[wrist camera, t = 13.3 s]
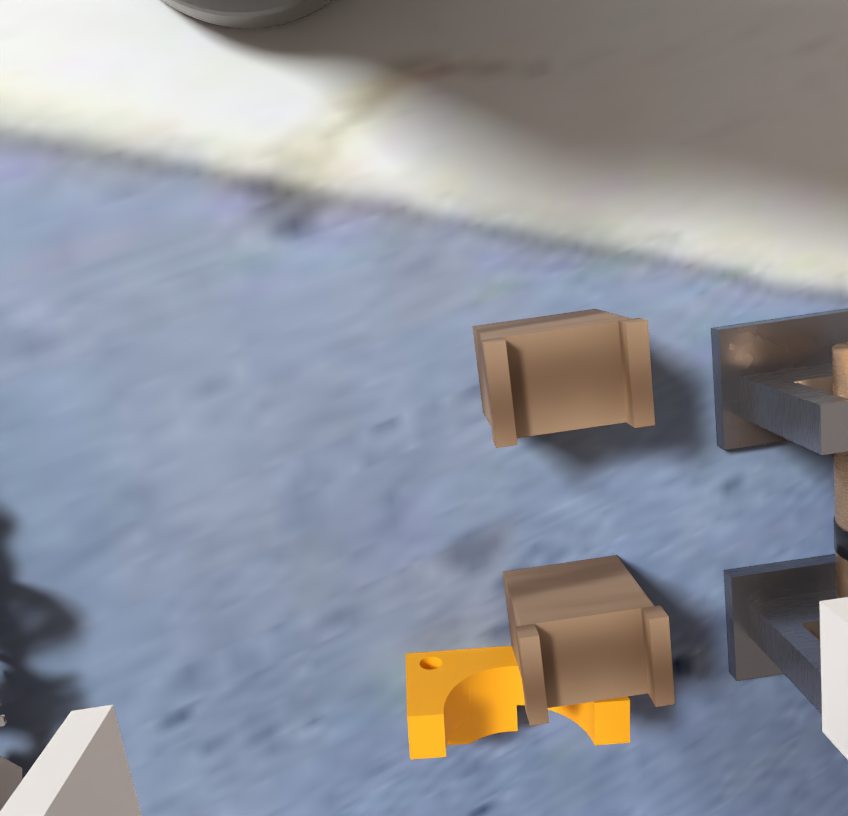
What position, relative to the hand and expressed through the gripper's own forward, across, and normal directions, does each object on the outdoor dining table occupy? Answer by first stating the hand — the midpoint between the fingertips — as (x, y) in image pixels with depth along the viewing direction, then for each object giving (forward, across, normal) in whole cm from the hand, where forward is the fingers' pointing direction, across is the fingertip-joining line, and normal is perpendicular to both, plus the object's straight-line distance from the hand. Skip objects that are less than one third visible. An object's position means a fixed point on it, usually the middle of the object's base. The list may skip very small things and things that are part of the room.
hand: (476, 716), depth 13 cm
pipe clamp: (+29, +3, -18) cm, 34 cm away
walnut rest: (+29, +7, -6) cm, 30 cm away
